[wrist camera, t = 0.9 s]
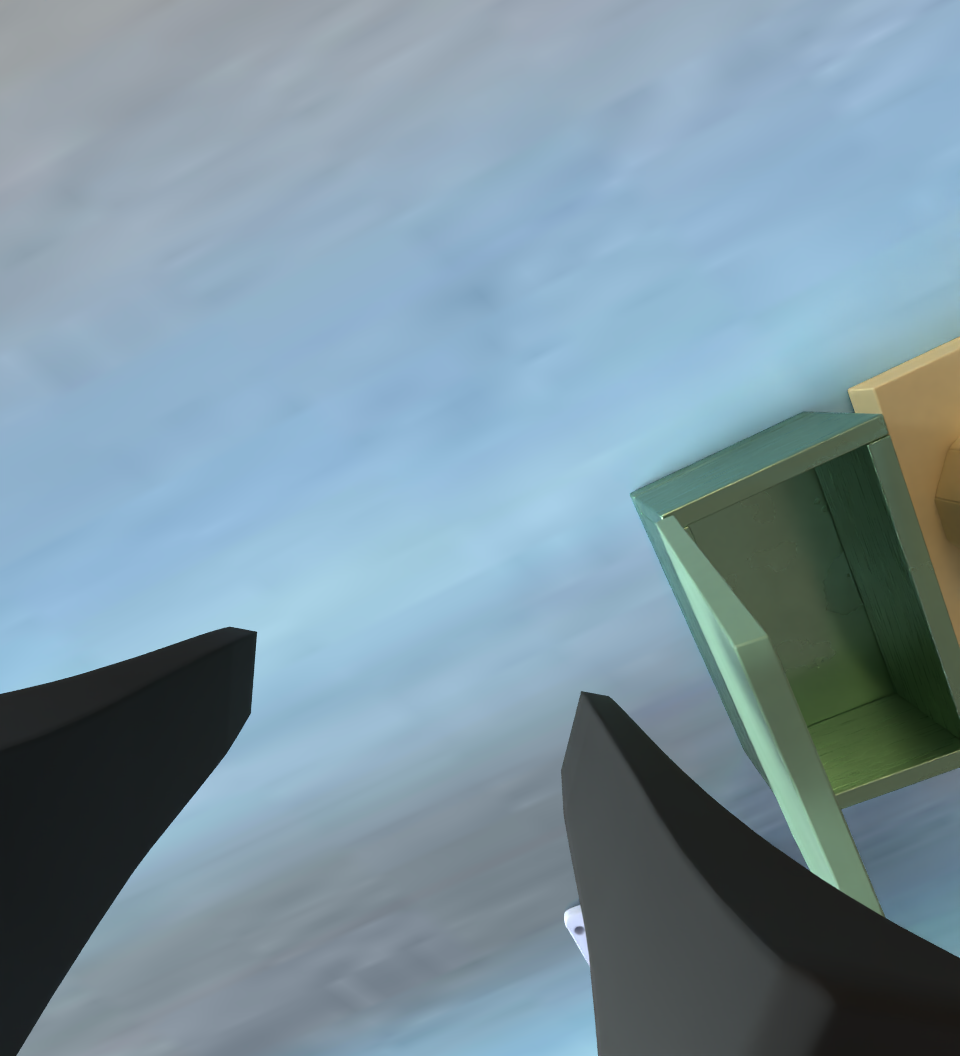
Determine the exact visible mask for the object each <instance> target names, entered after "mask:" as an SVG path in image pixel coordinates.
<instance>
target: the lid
mask: <svg viewBox="0 0 960 1056" xmlns="http://www.w3.org/2000/svg"><path fill="white" fill-rule="evenodd" d="M656 526H657V529H658V531H659V533H660V536H661V538H662V540H663V542H664V545H665V547H666V549H667V551H668V554H669V556H670V558H671V560H672V563H673V565H674V567H675V570H676V572H677V574H678V576H679V579H680V581H681V583H682V585H683V588H684V590H685V592H686V594H687V597H688V599H689V601H690V603H691V606H692V608H693V610H694V613H695V615H696V617H697V619H698V622H699V624H700V626H701V628H702V631H703V633H704V635H705V637H706V640H707V642H708V644H709V647H710V649H711V651H712V653H713V656H714V658H715V660H716V662H717V665H718V667H719V669H720V671H721V674H722V676H723V678H724V680H725V683H726V685H727V687H728V690H729V692H730V694H731V696H732V699H733V701H734V703H735V705H736V708H737V710H738V712H739V714H740V717H741V719H742V721H743V724H744V726H745V728H746V730H747V733H748V735H749V737H750V739H751V742H752V744H753V746H754V748H755V751H756V753H757V755H758V757H759V760H760V762H761V764H762V767H763V769H764V771H765V773H766V776H767V778H768V780H769V782H770V785H771V787H772V789H773V791H774V794H775V796H776V798H777V801H778V803H779V805H780V807H781V810H782V812H783V814H784V816H785V819H786V821H787V823H788V825H789V828H790V830H791V832H792V835H793V837H794V839H795V841H796V843H797V845H798V847H799V849H800V851H801V853H802V855H803V857H804V859H805V861H806V863H807V865H808V867H809V869H810V871H811V872H812V873H813V874H815V875H817V876H818V877H820V878H821V879H823V880H824V881H826V882H827V883H829V884H831V885H832V886H834V887H835V888H837V889H838V890H840V891H842V892H843V893H845V894H846V895H848V896H850V897H851V898H853V899H855V900H856V901H858V902H860V903H861V904H863V905H865V906H866V907H868V908H870V909H871V910H873V911H875V912H876V913H878V914H880V915H881V916H883V917H885V915H884V913H883V910H882V908H881V905H880V903H879V900H878V898H877V896H876V893H875V891H874V888H873V886H872V883H871V881H870V879H869V876H868V874H867V871H866V869H865V866H864V864H863V862H862V859H861V857H860V854H859V852H858V849H857V847H856V845H855V842H854V840H853V837H852V835H851V832H850V830H849V828H848V825H847V823H846V820H845V818H844V815H843V813H842V811H841V808H840V806H839V803H838V801H837V798H836V796H835V794H834V791H833V789H832V786H831V784H830V781H829V779H828V777H827V774H826V772H825V769H824V767H823V764H822V762H821V760H820V757H819V755H818V752H817V750H816V747H815V745H814V743H813V740H812V738H811V735H810V733H809V730H808V728H807V726H806V723H805V721H804V718H803V716H802V713H801V711H800V709H799V706H798V704H797V701H796V699H795V696H794V694H793V692H792V689H791V687H790V684H789V682H788V679H787V677H786V675H785V672H784V670H783V667H782V665H781V663H780V660H779V658H778V655H777V653H776V650H775V648H774V646H773V643H772V641H771V638H770V636H769V635H768V633H767V632H766V631H765V630H764V628H763V627H762V626H761V625H760V623H759V622H758V621H757V620H756V618H755V617H754V616H753V615H752V613H751V612H750V611H749V610H748V608H747V607H746V606H745V605H744V603H743V602H742V601H741V599H740V598H739V597H738V596H737V594H736V593H735V592H734V591H733V589H732V588H731V587H730V586H729V584H728V583H727V582H726V581H725V579H724V578H723V577H722V576H721V574H720V573H719V572H718V571H717V569H716V568H715V567H714V565H713V564H712V563H711V562H710V560H709V559H708V558H707V557H706V555H705V554H704V553H703V552H702V550H701V549H700V548H699V547H698V545H697V544H696V543H695V542H694V540H693V539H692V538H691V537H690V535H689V534H688V533H687V531H686V530H685V529H684V528H683V526H682V525H681V524H680V523H679V521H678V520H677V519H676V518H675V516H674V515H673V516H670V517H667V518H665V519H662V520H660V521H658V522H656ZM885 918H886V917H885Z"/></svg>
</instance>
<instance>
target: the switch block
mask: <svg viewBox="0 0 960 1056" xmlns="http://www.w3.org/2000/svg"><path fill="white" fill-rule="evenodd" d="M848 393H849V396H850V399H851V402H852V405H853V408H854V411H855V413H866V414H882V415H883V416H884V419H885V422H886V425H887V428H888V431H889V434H888V435H890V436H891V439H892V442H893V445H894V448H895V451H896V454H897V457H898V460H899V464H900V467H901V470H902V473H903V476H904V479H905V482H906V485H907V488H908V491H909V494H910V497H911V500H912V503H913V506H914V510H915V513H916V516H917V519H918V522H919V525H920V528H921V531H922V534H923V537H924V540H925V543H926V546H927V549H928V552H929V555H930V559H931V562H932V565H933V568H934V571H935V574H936V577H937V580H938V583H939V586H940V589H941V592H942V595H943V598H944V601H945V604H946V608H947V611H948V614H949V617H950V620H951V623H952V626H953V629H954V632H955V635H956V638H957V641H958V644H959V647H960V337H957V338H955V339H953V340H951V341H949V342H947V343H945V344H943V345H940V346H938V347H936V348H934V349H932V350H930V351H928V352H926V353H924V354H921V355H919V356H917V357H915V358H913V359H911V360H909V361H907V362H904V363H902V364H900V365H898V366H896V367H894V368H892V369H890V370H888V371H885V372H883V373H881V374H879V375H877V376H875V377H873V378H871V379H868V380H866V381H864V382H862V383H860V384H858V385H856V386H854V387H852V388H849V389H848Z"/></svg>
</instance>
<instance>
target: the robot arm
mask: <svg viewBox="0 0 960 1056" xmlns="http://www.w3.org/2000/svg"><path fill="white" fill-rule="evenodd" d="M256 638H257V632H255V631H250V630H245V629H239V628H234V627H227V628H222V629H218V630H215V631H212V632H208V633H205V634H202V635H199V636H196V637H193V638H190V639H187V640H185V641H182V642H179V643H176V644H173V645H170V646H167V647H164V648H161V649H158V650H155V651H153V652H150V653H147V654H144V655H141V656H138V657H135V658H132V659H128V660H125V661H122V662H119V663H116V664H112V665H109V666H106V667H103V668H99V669H96V670H93V671H90V672H86V673H83V674H80V675H76V676H73V677H69V678H65V679H62V680H58V681H54V682H50V683H46V684H42V685H38V686H33V687H29V688H25V689H21V690H16V691H12V692H8V693H3V694H0V1056H16V1055H17V1054H18V1052H19V1050H20V1049H21V1047H22V1045H23V1044H24V1042H25V1040H26V1039H27V1037H28V1035H29V1034H30V1032H31V1031H32V1029H33V1027H34V1026H35V1024H36V1022H37V1021H38V1019H39V1017H40V1016H41V1014H42V1012H43V1011H44V1009H45V1007H46V1006H47V1004H48V1003H49V1001H50V999H51V998H52V996H53V994H54V993H55V991H56V990H57V988H58V986H59V985H60V983H61V982H62V980H63V979H64V977H65V975H66V974H67V972H68V971H69V969H70V968H71V966H72V965H73V963H74V961H75V960H76V958H77V957H78V955H79V954H80V952H81V950H82V949H83V947H84V946H85V944H86V943H87V941H88V939H89V938H90V936H91V935H92V933H93V932H94V930H95V928H96V927H97V925H98V924H99V922H100V921H101V919H102V918H103V916H104V915H105V913H106V912H107V910H108V909H109V907H110V906H111V904H112V903H113V901H114V900H115V898H116V897H117V895H118V894H119V892H120V891H121V889H122V888H123V886H124V885H125V883H126V882H127V880H128V879H129V877H130V876H131V875H132V873H133V872H134V870H135V869H136V868H137V866H138V865H139V864H140V862H141V861H142V860H143V858H144V857H145V856H146V854H147V853H148V852H149V850H150V849H151V848H152V846H153V845H154V844H155V843H156V841H157V840H158V839H159V838H160V836H161V835H162V834H163V833H164V832H165V830H166V829H167V828H168V827H169V825H170V824H171V823H172V822H173V820H174V819H175V818H176V817H177V815H178V814H179V813H180V812H181V810H182V809H183V808H184V807H185V805H186V804H187V803H188V802H189V800H190V799H191V798H192V797H193V795H194V794H195V793H196V792H197V791H198V789H199V788H200V787H201V786H202V784H203V783H204V782H205V780H206V779H207V778H208V777H209V775H210V774H211V773H212V772H213V770H214V769H215V768H216V767H217V765H218V764H219V763H220V761H221V760H222V759H223V758H224V756H225V755H226V754H227V752H228V750H229V749H230V747H231V746H232V744H233V742H234V741H235V739H236V738H237V736H238V734H239V733H240V731H241V729H242V727H243V726H244V724H245V722H246V721H247V719H248V717H249V715H250V714H251V702H252V690H253V677H254V664H255V651H256ZM561 776H562V796H563V810H564V819H565V825H566V831H567V836H568V842H569V847H570V853H571V858H572V864H573V869H574V874H575V879H576V885H577V890H578V895H579V901H580V905H578V906H575V907H573V908H570V909H568V910H567V911H566V912H565V915H564V919H565V924H566V926H567V928H568V930H569V932H570V933H571V935H572V937H573V938H574V940H575V942H576V944H577V945H578V947H579V949H580V950H581V952H582V954H583V956H584V957H585V959H586V961H587V962H588V964H589V966H590V972H591V982H592V992H593V1003H594V1013H595V1024H596V1036H597V1048H598V1056H960V958H959V957H957V956H955V955H953V954H951V953H949V952H947V951H945V950H944V949H942V948H940V947H938V946H936V945H934V944H932V943H930V942H928V941H927V940H925V939H923V938H921V937H919V936H917V935H915V934H913V933H912V932H910V931H908V930H906V929H904V928H902V927H900V926H899V925H897V924H895V923H893V922H892V921H890V920H888V919H886V918H885V917H883V916H881V915H880V914H878V913H876V912H875V911H873V910H871V909H870V908H868V907H866V906H865V905H863V904H861V903H860V902H858V901H856V900H855V899H853V898H851V897H850V896H848V895H846V894H845V893H843V892H842V891H840V890H838V889H837V888H835V887H834V886H832V885H831V884H829V883H827V882H826V881H824V880H823V879H821V878H820V877H818V876H817V875H815V874H813V873H812V872H810V871H809V870H808V869H806V868H805V867H803V866H802V865H800V864H799V863H797V862H796V861H795V860H793V859H792V858H790V857H789V856H787V855H786V854H784V853H783V852H782V851H780V850H779V849H777V848H776V847H774V846H773V845H772V844H770V843H769V842H768V841H766V840H765V839H763V838H762V837H761V836H759V835H758V834H757V833H755V832H754V831H753V830H751V829H750V828H749V827H748V826H746V825H745V824H744V823H743V822H741V821H740V820H739V819H738V818H736V817H735V816H734V815H733V814H731V813H730V812H729V811H728V810H726V809H725V808H724V807H723V806H721V805H720V804H719V803H718V802H717V801H716V800H714V799H713V798H712V797H711V796H710V795H709V794H707V793H706V792H705V791H704V790H703V789H702V788H701V787H700V786H699V785H698V784H696V783H695V782H694V781H693V780H692V779H691V778H690V777H689V776H688V775H687V774H686V773H684V772H683V771H682V770H681V769H680V768H679V767H678V766H677V765H676V764H675V763H674V762H673V761H672V760H671V759H670V758H669V757H668V756H667V755H666V754H665V753H664V752H663V751H662V750H661V749H660V748H659V747H658V746H657V745H656V744H655V743H654V742H653V741H652V740H651V739H650V738H649V737H648V736H647V735H646V734H645V732H644V731H643V730H642V729H641V728H640V727H639V726H638V725H637V724H636V723H635V722H634V721H633V720H632V719H631V718H630V717H629V716H628V715H627V714H626V712H625V711H624V710H623V709H622V708H621V707H620V706H619V705H618V704H617V703H616V702H615V701H614V700H612V699H611V698H610V697H609V696H605V695H599V694H594V693H588V692H583V691H581V695H580V698H579V702H578V706H577V710H576V714H575V718H574V722H573V726H572V730H571V734H570V738H569V742H568V746H567V750H566V754H565V757H564V761H563V765H562V769H561ZM578 926H579V927H578Z"/></svg>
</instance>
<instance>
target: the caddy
mask: <svg viewBox="0 0 960 1056" xmlns="http://www.w3.org/2000/svg"><path fill="white" fill-rule="evenodd" d="M888 434H889V431H888V428H887V425H886V422H885V419H884V416H883V415H882V414H866V413H829V412H802V413H800V414H797V415H795V416H793V417H791V418H789V419H787V420H785V421H783V422H780V423H778V424H776V425H774V426H772V427H770V428H768V429H766V430H763V431H761V432H759V433H757V434H755V435H753V436H751V437H749V438H747V439H744V440H742V441H740V442H738V443H736V444H734V445H732V446H730V447H727V448H725V449H723V450H721V451H719V452H717V453H715V454H713V455H710V456H708V457H706V458H704V459H702V460H700V461H698V462H696V463H694V464H691V465H689V466H687V467H685V468H683V469H681V470H679V471H677V472H674V473H672V474H670V475H668V476H666V477H664V478H662V479H660V480H657V481H655V482H653V483H651V484H649V485H647V486H645V487H643V488H641V489H638V490H636V491H634V492H632V493H631V494H630V496H631V499H632V501H633V503H634V505H635V508H636V510H637V512H638V514H639V516H640V519H641V521H642V523H643V525H644V528H645V530H646V532H647V534H648V537H649V539H650V541H651V543H652V546H653V548H654V550H655V552H656V554H657V557H658V559H659V561H660V563H661V566H662V568H663V570H664V572H665V575H666V577H667V579H668V581H669V584H670V586H671V588H672V590H673V593H674V595H675V597H676V599H677V601H678V604H679V606H680V608H681V610H682V613H683V615H684V617H685V619H686V622H687V624H688V626H689V628H690V631H691V633H692V635H693V637H694V640H695V642H696V644H697V646H698V648H699V651H700V653H701V655H702V657H703V660H704V662H705V664H706V666H707V669H708V671H709V673H710V675H711V678H712V680H713V682H714V684H715V686H716V689H717V691H718V693H719V695H720V698H721V700H722V702H723V704H724V707H725V709H726V711H727V713H728V716H729V718H730V720H731V722H732V725H733V727H734V729H735V731H736V733H737V736H738V738H739V740H740V742H741V745H742V747H743V749H744V751H745V753H746V754H747V756H748V757H749V758H750V760H751V761H752V763H753V764H754V766H755V767H756V769H757V770H758V771H759V773H760V774H761V776H762V777H763V779H764V780H765V781H766V783H767V784H768V786H769V787H770V789H771V790H772V792H773V793H774V791H773V789H772V787H771V785H770V782H769V780H768V778H767V776H766V773H765V771H764V769H763V767H762V764H761V762H760V760H759V757H758V755H757V753H756V751H755V748H754V746H753V744H752V742H751V739H750V737H749V735H748V733H747V730H746V728H745V726H744V724H743V721H742V719H741V717H740V714H739V712H738V710H737V708H736V705H735V703H734V701H733V699H732V696H731V694H730V692H729V690H728V687H727V685H726V683H725V680H724V678H723V676H722V674H721V671H720V669H719V667H718V665H717V662H716V660H715V658H714V656H713V653H712V651H711V649H710V647H709V644H708V642H707V640H706V637H705V635H704V633H703V631H702V628H701V626H700V624H699V622H698V619H697V617H696V615H695V613H694V610H693V608H692V606H691V603H690V601H689V599H688V597H687V594H686V592H685V590H684V588H683V585H682V583H681V581H680V579H679V576H678V574H677V572H676V570H675V567H674V565H673V563H672V560H671V558H670V556H669V554H668V551H667V549H666V547H665V545H664V542H663V540H662V538H661V536H660V533H659V531H658V529H657V526H656V522H658V521H660V520H662V519H665V518H667V517H670V516H673V515H674V516H675V518H676V519H677V520H678V521H679V523H680V524H681V525H682V526H683V528H684V529H685V530H686V531H687V533H688V534H689V535H690V537H691V538H692V539H693V540H694V542H695V543H696V544H697V545H698V547H699V548H700V549H701V550H702V552H703V553H704V554H705V555H706V557H707V558H708V559H709V560H710V562H711V563H712V564H713V565H714V567H715V568H716V569H717V571H718V572H719V573H720V574H721V576H722V577H723V578H724V579H725V581H726V582H727V583H728V584H729V586H730V587H731V588H732V589H733V591H734V592H735V593H736V594H737V596H738V597H739V598H740V599H741V601H742V602H743V603H744V605H745V606H746V607H747V608H748V610H749V611H750V612H751V613H752V615H753V616H754V617H755V618H756V620H757V621H758V622H759V623H760V625H761V626H762V627H763V628H764V630H765V631H766V632H767V633H768V635H769V636H770V638H771V641H772V643H773V646H774V648H775V650H776V653H777V655H778V658H779V660H780V663H781V665H782V667H783V670H784V672H785V675H786V677H787V679H788V682H789V684H790V687H791V689H792V692H793V694H794V696H795V699H796V701H797V704H798V706H799V709H800V711H801V713H802V716H803V718H804V721H805V723H806V726H807V728H808V730H809V733H810V735H811V738H812V740H813V743H814V745H815V747H816V750H817V752H818V755H819V757H820V760H821V762H822V764H823V767H824V769H825V772H826V774H827V777H828V779H829V781H830V784H831V786H832V789H833V791H834V794H835V796H836V798H837V801H838V803H839V806H840V808H841V809H844V808H847V807H849V806H852V805H855V804H858V803H861V802H864V801H866V800H869V799H872V798H875V797H878V796H881V795H883V794H886V793H889V792H892V791H895V790H898V789H900V788H903V787H906V786H909V785H912V784H915V783H917V782H920V781H923V780H926V779H929V778H931V777H934V776H937V775H940V774H943V773H946V772H948V771H951V770H954V769H957V768H960V647H959V644H958V641H957V638H956V635H955V632H954V629H953V626H952V623H951V620H950V617H949V614H948V611H947V608H946V604H945V601H944V598H943V595H942V592H941V589H940V586H939V583H938V580H937V577H936V574H935V571H934V568H933V565H932V562H931V559H930V555H929V552H928V549H927V546H926V543H925V540H924V537H923V534H922V531H921V528H920V525H919V522H918V519H917V516H916V513H915V510H914V506H913V503H912V500H911V497H910V494H909V491H908V488H907V485H906V482H905V479H904V476H903V473H902V470H901V467H900V464H899V460H898V457H897V454H896V451H895V448H894V445H893V442H892V439H891V436H890V435H888Z"/></svg>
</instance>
